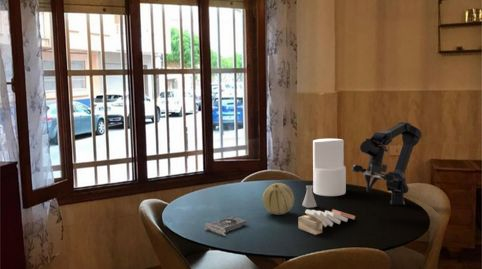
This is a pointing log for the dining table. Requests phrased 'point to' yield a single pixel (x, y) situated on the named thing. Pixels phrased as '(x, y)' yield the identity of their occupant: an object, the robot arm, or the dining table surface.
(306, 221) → the block
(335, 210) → the domino
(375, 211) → the dining table surface
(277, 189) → the cantaloupe
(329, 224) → the domino
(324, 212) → the domino
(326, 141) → the cylinder
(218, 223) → the graphics card
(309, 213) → the domino
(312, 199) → the flask
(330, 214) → the domino
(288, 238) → the dining table surface
